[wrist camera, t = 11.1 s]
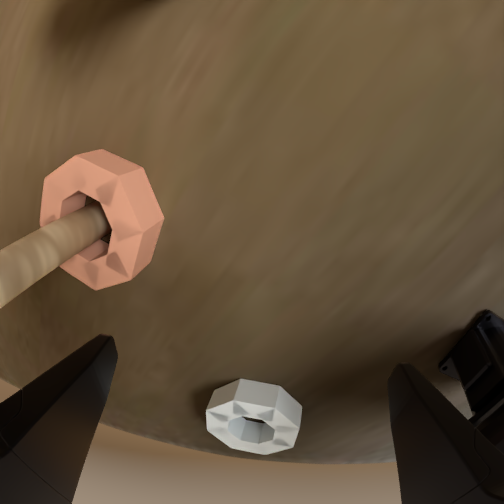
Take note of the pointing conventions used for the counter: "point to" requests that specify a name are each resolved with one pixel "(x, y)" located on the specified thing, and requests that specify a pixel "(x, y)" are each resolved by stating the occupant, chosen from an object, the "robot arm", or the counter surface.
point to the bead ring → (117, 212)
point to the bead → (254, 416)
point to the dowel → (49, 249)
